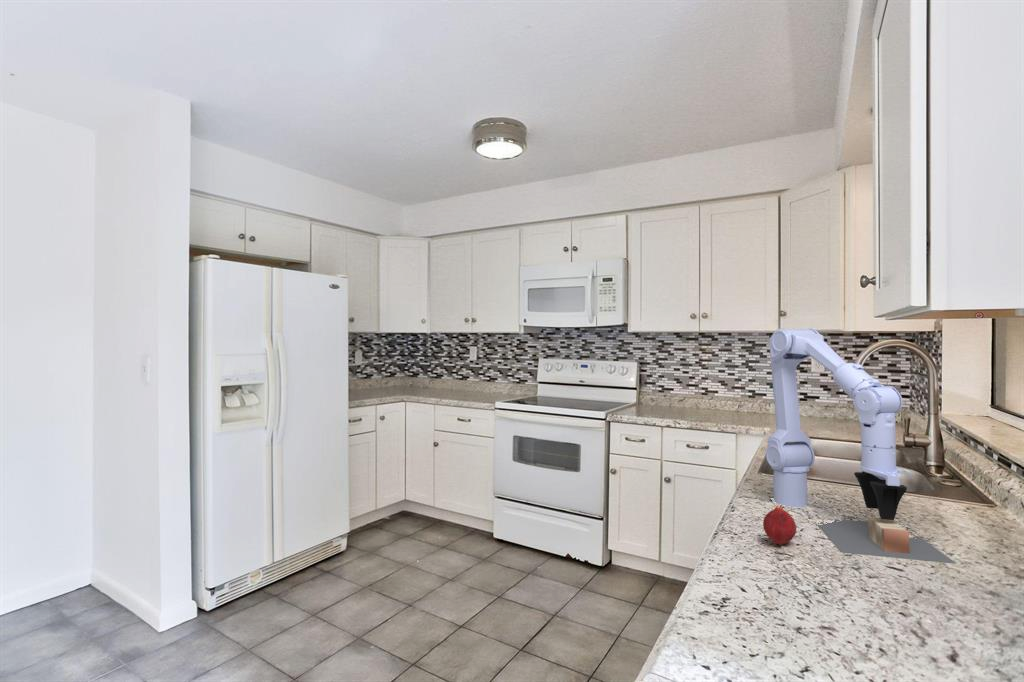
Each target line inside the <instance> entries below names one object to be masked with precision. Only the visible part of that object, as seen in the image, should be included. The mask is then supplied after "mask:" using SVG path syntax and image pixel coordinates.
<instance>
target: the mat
mask: <svg viewBox="0 0 1024 682" xmlns="http://www.w3.org/2000/svg"><path fill="white" fill-rule="evenodd" d="M838 519H839V518H837V520H835V521H834V522H832V523H827V522H826V523H827V524H823V523H820V524H823V525H817V527H818V528H819V529H820V530H821V531H822V533H823V534H824V535H825V536H826V537H827V538H828V539H829V541H830V542H831V543H832V544H833V546H835V547H836V548H837V549H838V551H839V553H842V554H853V555H861V556H871V557H872V556H873V557H882V558H893V559H902V560H904V559H905V560H913V561H924V562H934V563H944V564H955V565H957V562H955V561H954V560H953V559H952V558H950V557H949V556H947V555H946V554H944V553H943V552H942V551H941V550H939V549H937V547H935V546H934V545H932V544H931V543H930V542H928V541H926V540H925V539H924V538H922V537H921V536H920V537H913V538H909V553H898V552H888V551H884V550H883V549H881V548H880V547H879V546H878V545H877V544H876V543H875V542H874V541H873V540H872V539H871V538H869V526H868V521H864V520H863V521H862V520H852V519H841V520H842V521H840V522H837V521H838ZM818 524H819V523H818ZM914 536H915V535H914ZM915 538H916V539H915Z"/></svg>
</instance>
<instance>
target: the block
mask: <svg viewBox="0 0 1024 682" xmlns="http://www.w3.org/2000/svg"><path fill="white" fill-rule="evenodd" d="M867 519H868V521H867V522H868V526H869V538H871V539H872V540H873V541H874V542H875V543H876V544H877V545H878V546H879V547H880V548H881V549H883V550H884V551H888V552H898V553H909V532H908V531H907V530H906V529H904V528H903V527H902V526H900V525H899V524H900V523H897V522H896V521H895V519H894V520H885V519H881V518H880V517H872V516H868V518H867Z"/></svg>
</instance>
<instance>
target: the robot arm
mask: <svg viewBox="0 0 1024 682" xmlns="http://www.w3.org/2000/svg"><path fill="white" fill-rule="evenodd" d="M768 342H769V354H770V370H771V381H772V390H773V393H772V394H773V404H774V414H775V415H774V416H775V426H776V427H775V429H776V430H775V432H773V433H772V434H771V435H769V437H768V438H767V446H766V450H765V458H766V460H767V463H768V464H769V466H770V468H771V469H772V470H773V476H772V485H773V487H772V490H773V496H774V500H775V502H776V503H778V504H781V505H785V506H791V507H804V506H807V504H808V472H810V468H811V467H812V466H813V465H814V464H815V459H816V458H815V452H814V449H813V447H812V444H811V443H812V442H811V438H810V436H808V434H807V435H806V433H804V432H803V431H802V427H801V426H802V424H801V415H800V403H799V394H798V381H797V370H796V368H797V366H798V365H799V364H800V363H801V362H803V361H805V360H807V359H808V358H810V357H811V358H812V359H813V360H814V361H816V362H817V363H819V365H821V366H823V367H824V368H825V369H826V370H827V371H829V372H831V373H832V381H833V382H834V383H835V384H836V386H838V387H840V389H841V390H843V392H845V393H846V394H847V395H848V396H849V397H850V398H851V399H852V403H853V406H854V409H855V411H856V412H857V415H858V421H859V423H860V434H861V435H860V437H861V438H860V439H861V442H860V443H861V445H860V447H861V460H860V471H861V472H860V471H855V472H854V473H853V474H854V476H855V478H856V480H857V482H858V483H859V486H860V489H861V493H862V497H863V500H864V503H865V508H867V509H873V510H874V509H875V510H877V511H878V513H879V518H881V519H885V520H894V521H895V518H896V515H897V512H898V508H899V505H900V502H901V499H902V498H903V496H904V495H905V493H906V492H907V490H908V488H907V487H908V486H906V485H905V484H900V483H901V480H900V479H901V477H900V475H899V474H904V469H902V468H900V467H897V444H896V443H897V440H896V439H897V438H896V435H897V434H896V433H897V432H896V414H898V413H899V412H900V411H901V409H902V407H903V397H902V395H901V394H900V392H899V391H898V390H897V389H896V388H895V386H892V385H891V386H890V385H883V384H881V382H880V381H879V380H878V379H877V378H874V377H872V376H871V375H870V374H869V373H868V372H866V371H865V370H864V367H863V366H862V365H861V364H860V363H855V362H846V361H845V360H844V359H843V358H842V357H841V356H839V354H837V352H836V351H835V350H834V349H833V348H832V347H830V346H829V344H828V343H827V342H825V337H824V335H823V334H821V333H819V332H818V331H817V330H816V329H814V328H805V329H803V328H785V327H784V328H781V327H780V328H777V329H776V330H775V331H774V332H773V334H772V335H771V336H770V337H769V339H768ZM773 496H772V497H773Z"/></svg>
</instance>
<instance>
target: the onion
mask: <svg viewBox="0 0 1024 682" xmlns="http://www.w3.org/2000/svg"><path fill="white" fill-rule="evenodd" d="M782 507H783V506H782V505H780V504H778V505H777V506H776V507H775V508H774V509H772V510H770V511H769V512H768V513H767V514H766V515H765V516H764V517H763V518H764V519H763V522H762V526H763V530H764V533H765V535H766V536H767V537H768V539H770V540H771V541H772V542H773V543H774V544H775V545H777V544H778V545H777V546H779V545H781V546H783V545H785V544H787V543H788V542H791V541H792V540H793V538H794V537H795V536H796V534H797V525H796V521H795V519H794V518H793V517H792V516H791V514H790V513H789V512H788V511H786V510H785V509H784V508H782Z"/></svg>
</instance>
